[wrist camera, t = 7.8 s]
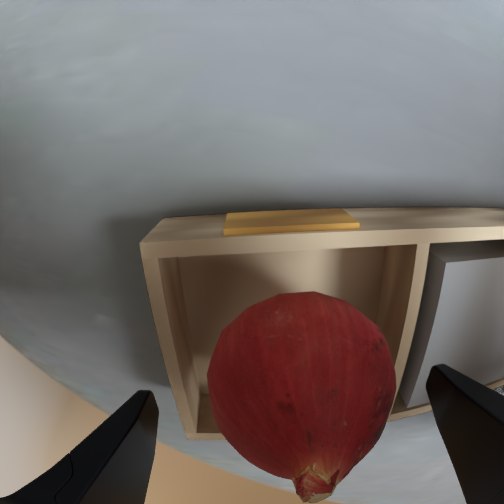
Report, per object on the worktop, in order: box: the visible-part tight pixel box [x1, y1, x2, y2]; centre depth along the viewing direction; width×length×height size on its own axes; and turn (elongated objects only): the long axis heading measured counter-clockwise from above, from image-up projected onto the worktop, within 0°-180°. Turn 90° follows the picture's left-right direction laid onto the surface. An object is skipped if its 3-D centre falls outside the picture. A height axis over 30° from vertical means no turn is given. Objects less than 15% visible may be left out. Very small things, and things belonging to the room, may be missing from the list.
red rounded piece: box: [207, 291, 397, 503], centre depth 9 cm, size 6×6×8 cm
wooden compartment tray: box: [139, 207, 504, 440], centre depth 12 cm, size 18×9×3 cm, turn 93°
